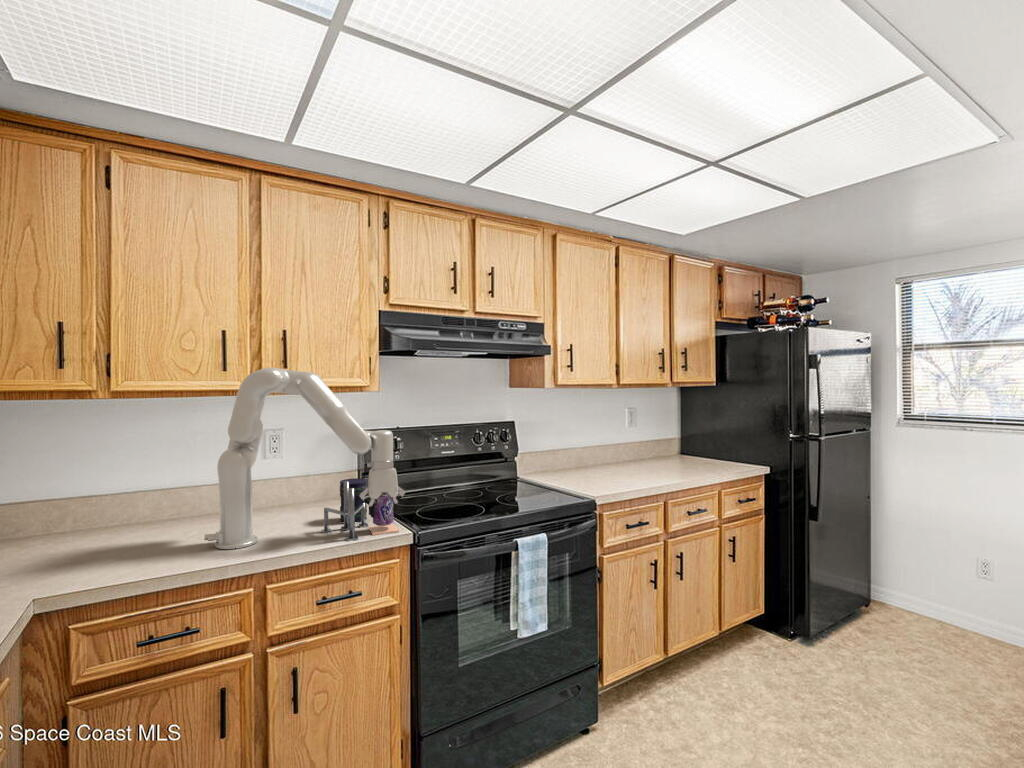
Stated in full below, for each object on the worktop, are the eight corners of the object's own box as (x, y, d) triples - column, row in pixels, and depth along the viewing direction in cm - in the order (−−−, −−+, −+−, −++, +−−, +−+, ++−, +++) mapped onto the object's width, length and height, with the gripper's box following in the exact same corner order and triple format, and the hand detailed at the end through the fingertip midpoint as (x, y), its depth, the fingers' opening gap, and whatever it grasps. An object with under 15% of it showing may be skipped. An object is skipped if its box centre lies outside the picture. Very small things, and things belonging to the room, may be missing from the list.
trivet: (372, 535, 183) (372, 533, 183) (368, 528, 191) (368, 527, 191) (398, 532, 186) (398, 530, 186) (393, 525, 194) (393, 523, 194)
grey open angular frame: (325, 544, 174) (325, 492, 173) (321, 530, 189) (320, 482, 189) (375, 537, 180) (375, 487, 180) (367, 524, 196) (366, 478, 196)
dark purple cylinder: (351, 524, 196) (351, 484, 196) (334, 521, 201) (333, 481, 201) (372, 518, 204) (372, 480, 204) (355, 515, 210) (355, 477, 209)
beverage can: (374, 527, 184) (374, 493, 184) (371, 522, 190) (371, 489, 190) (395, 525, 187) (395, 491, 186) (391, 520, 193) (391, 487, 193)
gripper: (358, 469, 181) (359, 521, 181) (409, 465, 188) (409, 515, 189) (355, 465, 188) (356, 515, 188) (404, 462, 195) (404, 510, 195)
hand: (382, 515), depth 188 cm, fingers closed on beverage can, 6 cm apart
